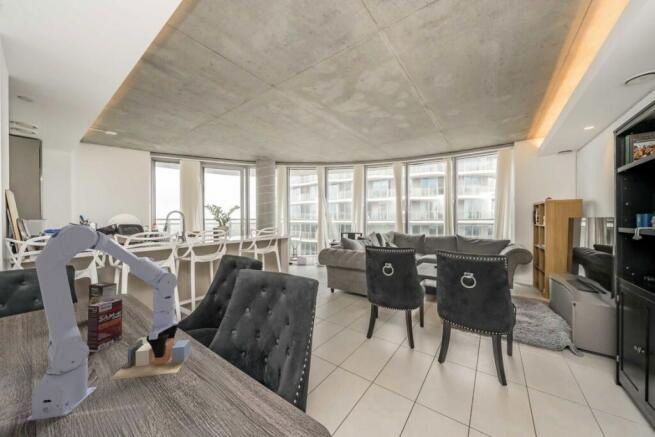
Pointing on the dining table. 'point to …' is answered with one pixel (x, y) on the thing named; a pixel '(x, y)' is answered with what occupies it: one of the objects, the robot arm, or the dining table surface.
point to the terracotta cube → (166, 352)
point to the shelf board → (148, 370)
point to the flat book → (143, 340)
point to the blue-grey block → (180, 350)
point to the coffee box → (102, 292)
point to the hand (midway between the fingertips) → (164, 351)
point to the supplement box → (104, 324)
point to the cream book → (144, 355)
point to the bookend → (132, 354)
